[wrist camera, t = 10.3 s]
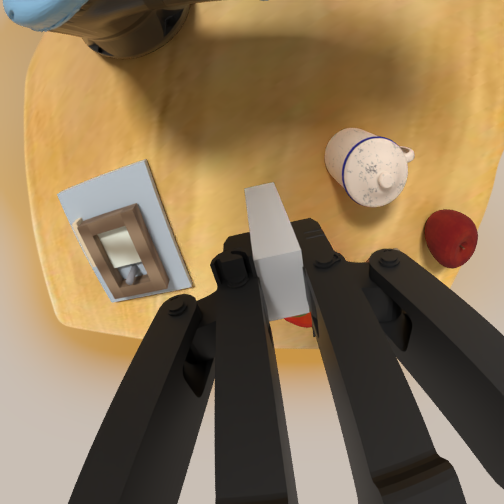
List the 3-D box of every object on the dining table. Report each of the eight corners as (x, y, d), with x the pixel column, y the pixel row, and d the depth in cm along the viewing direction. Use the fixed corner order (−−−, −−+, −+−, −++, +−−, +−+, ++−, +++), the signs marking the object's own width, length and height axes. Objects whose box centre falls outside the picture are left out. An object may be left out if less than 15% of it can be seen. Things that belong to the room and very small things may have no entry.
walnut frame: (83, 220, 41) (76, 227, 39) (136, 202, 40) (132, 209, 38) (118, 290, 48) (115, 299, 46) (169, 279, 48) (167, 288, 46)
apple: (460, 207, 46) (493, 233, 37) (439, 250, 50) (467, 279, 42) (429, 192, 44) (463, 218, 35) (407, 239, 48) (435, 271, 40)
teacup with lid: (330, 192, 43) (359, 227, 33) (314, 135, 38) (343, 154, 29) (398, 170, 42) (440, 198, 32) (387, 114, 37) (433, 129, 27)
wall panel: (60, 191, 39) (45, 204, 35) (146, 158, 39) (136, 168, 34) (113, 298, 51) (105, 316, 47) (192, 282, 50) (189, 302, 46)
